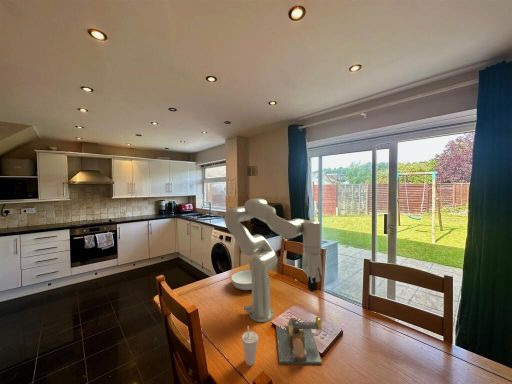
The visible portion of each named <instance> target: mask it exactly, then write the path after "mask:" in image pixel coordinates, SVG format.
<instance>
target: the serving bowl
mask: <svg viewBox="0 0 512 384" xmlns="http://www.w3.org/2000/svg"><path fill="white" fill-rule="evenodd" d="M230 278H231V283H232V285H233V286H234V287H235V288H237V289H239V290H241V291H250V290H251V291H252V279H251V272H250V269H246V270H240V271H237V272H235V273H233V274H232V275H231V277H230Z"/></svg>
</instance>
